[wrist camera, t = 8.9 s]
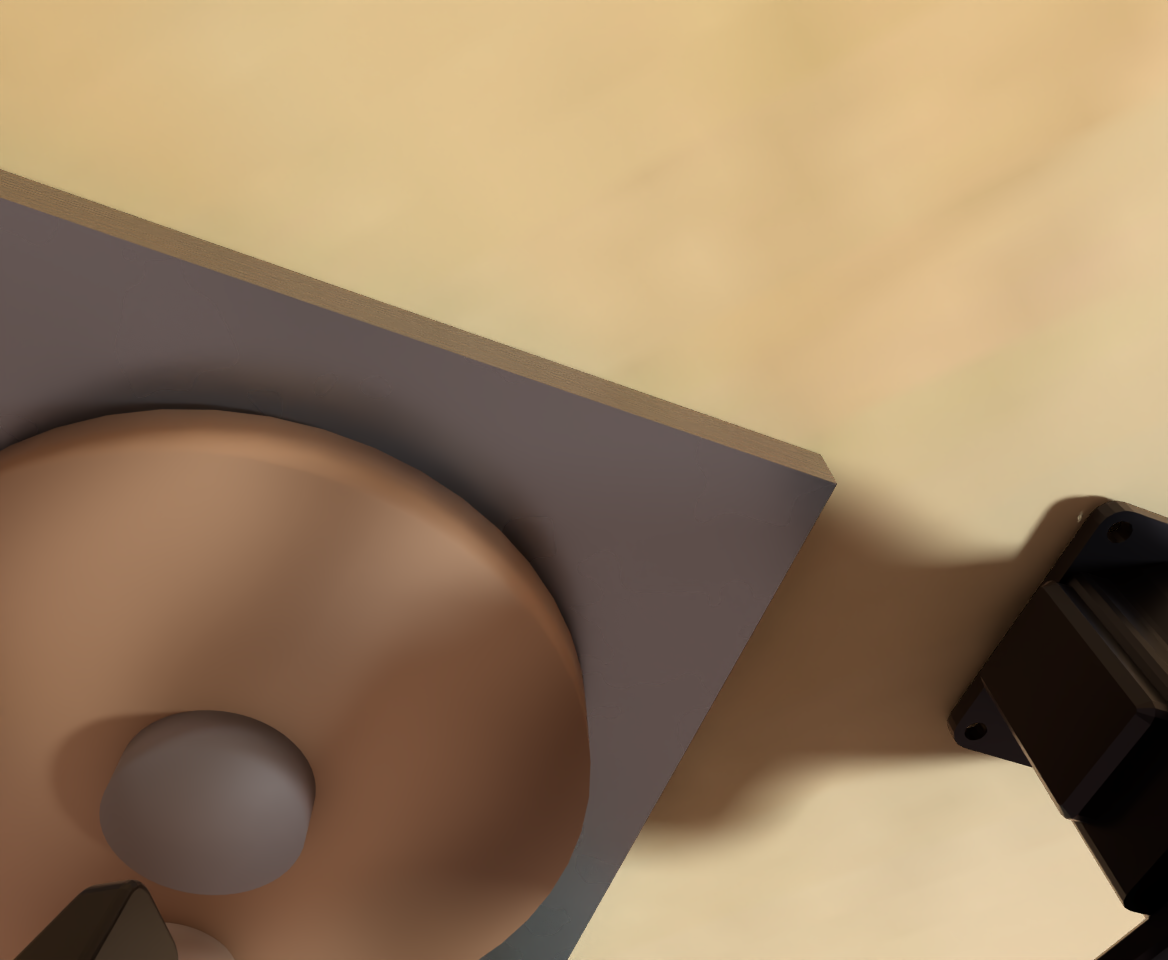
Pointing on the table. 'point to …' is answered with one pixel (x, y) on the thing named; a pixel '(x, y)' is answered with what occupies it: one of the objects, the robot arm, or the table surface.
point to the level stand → (441, 467)
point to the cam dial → (276, 694)
